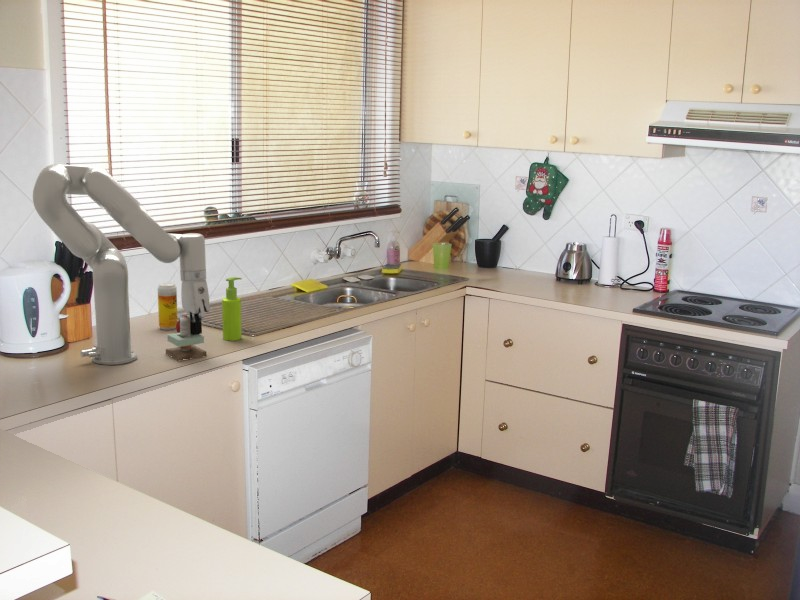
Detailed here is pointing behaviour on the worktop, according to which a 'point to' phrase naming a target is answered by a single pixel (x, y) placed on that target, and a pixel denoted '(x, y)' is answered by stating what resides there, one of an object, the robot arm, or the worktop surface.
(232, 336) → the soap dispenser
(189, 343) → the collar
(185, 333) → the post stand
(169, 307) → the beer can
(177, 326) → the onion
